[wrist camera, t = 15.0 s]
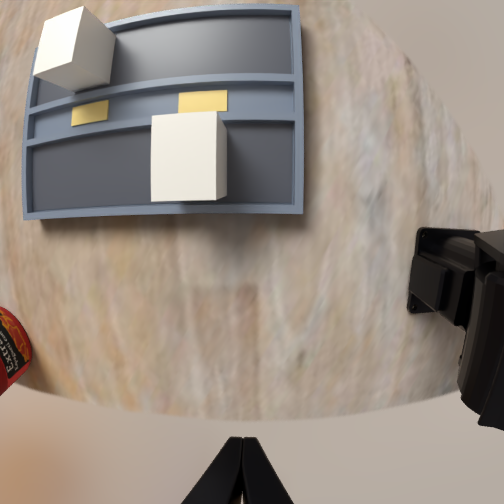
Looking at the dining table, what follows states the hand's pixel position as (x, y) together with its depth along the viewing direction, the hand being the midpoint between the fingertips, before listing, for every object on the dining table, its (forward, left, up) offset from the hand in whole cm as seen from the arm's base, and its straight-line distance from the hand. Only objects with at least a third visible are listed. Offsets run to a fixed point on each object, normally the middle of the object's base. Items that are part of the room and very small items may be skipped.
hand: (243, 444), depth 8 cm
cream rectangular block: (+11, -17, -12) cm, 23 cm away
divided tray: (+7, -13, -13) cm, 20 cm away
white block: (+3, -9, -12) cm, 15 cm away
